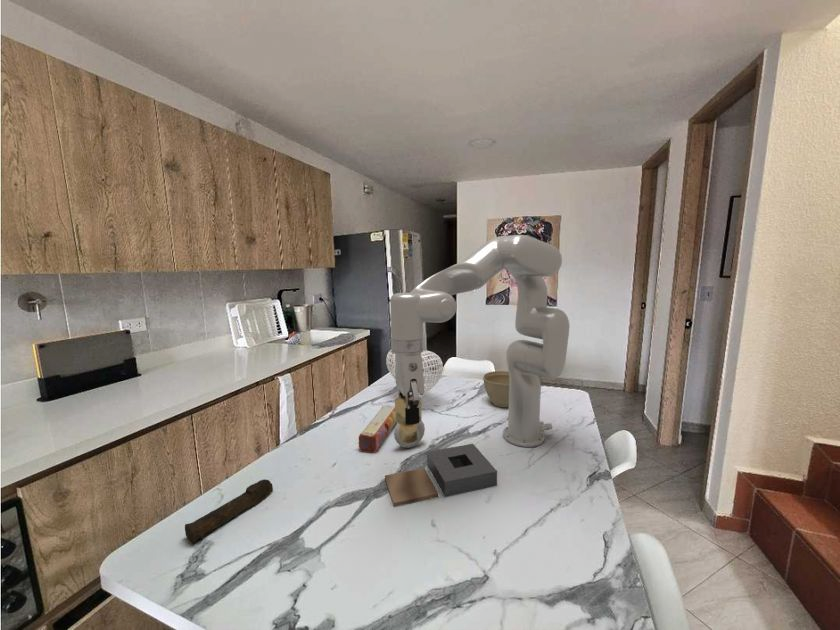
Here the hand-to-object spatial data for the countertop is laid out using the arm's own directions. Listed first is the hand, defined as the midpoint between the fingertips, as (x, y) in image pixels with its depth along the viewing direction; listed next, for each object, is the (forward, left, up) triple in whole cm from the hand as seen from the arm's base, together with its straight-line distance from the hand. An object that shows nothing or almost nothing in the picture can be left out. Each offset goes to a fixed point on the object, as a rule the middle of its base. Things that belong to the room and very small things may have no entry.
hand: (408, 416), depth 84 cm
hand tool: (+41, -4, -19) cm, 45 cm away
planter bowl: (-49, -39, -19) cm, 66 cm away
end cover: (0, 0, -6) cm, 6 cm away
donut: (-5, -19, -19) cm, 28 cm away
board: (0, 0, -19) cm, 19 cm away
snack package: (+2, -29, -19) cm, 35 cm away
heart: (-16, -53, -19) cm, 59 cm away
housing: (-14, -1, -19) cm, 24 cm away
